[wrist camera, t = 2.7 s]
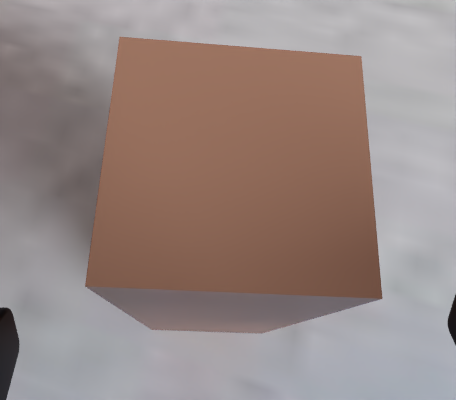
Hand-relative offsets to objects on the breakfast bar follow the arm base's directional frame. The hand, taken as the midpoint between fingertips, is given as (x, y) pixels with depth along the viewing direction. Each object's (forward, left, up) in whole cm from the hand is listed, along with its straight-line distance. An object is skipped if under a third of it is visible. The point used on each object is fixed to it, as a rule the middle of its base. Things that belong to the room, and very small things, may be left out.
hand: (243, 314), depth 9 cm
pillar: (+2, 0, -10) cm, 10 cm away
